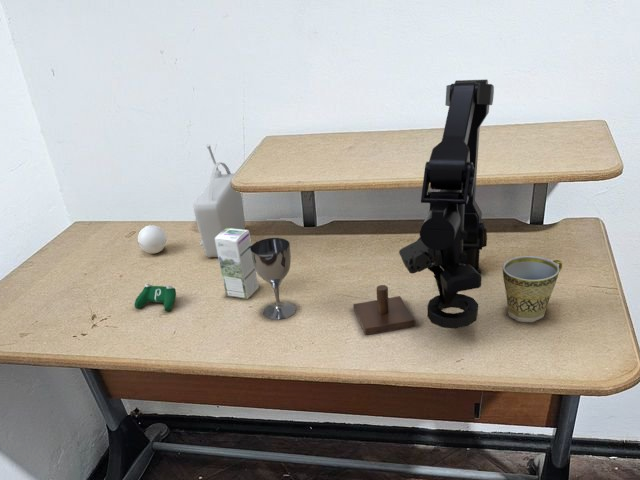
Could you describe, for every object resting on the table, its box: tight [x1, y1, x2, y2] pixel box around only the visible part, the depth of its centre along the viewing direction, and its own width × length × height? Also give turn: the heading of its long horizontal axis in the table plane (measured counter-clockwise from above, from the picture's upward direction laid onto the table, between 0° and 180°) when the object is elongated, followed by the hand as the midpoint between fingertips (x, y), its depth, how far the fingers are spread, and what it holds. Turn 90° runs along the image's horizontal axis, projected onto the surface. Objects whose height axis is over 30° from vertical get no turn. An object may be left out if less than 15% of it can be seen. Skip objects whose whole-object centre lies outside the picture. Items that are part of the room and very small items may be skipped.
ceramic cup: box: [502, 255, 563, 323], centre depth 120 cm, size 13×10×10 cm
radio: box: [193, 143, 246, 258], centre depth 159 cm, size 22×8×25 cm, turn 172°
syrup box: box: [215, 228, 260, 300], centre depth 138 cm, size 6×6×14 cm
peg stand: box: [352, 284, 416, 336], centre depth 125 cm, size 10×10×7 cm
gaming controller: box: [134, 283, 177, 312], centre depth 141 cm, size 9×4×6 cm
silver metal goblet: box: [250, 237, 297, 321], centre depth 129 cm, size 8×8×15 cm
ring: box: [426, 293, 479, 330], centre depth 118 cm, size 9×9×2 cm
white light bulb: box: [127, 224, 168, 254], centre depth 164 cm, size 10×7×7 cm
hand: (445, 301), depth 121 cm, fingers closed on ring, 2 cm apart
